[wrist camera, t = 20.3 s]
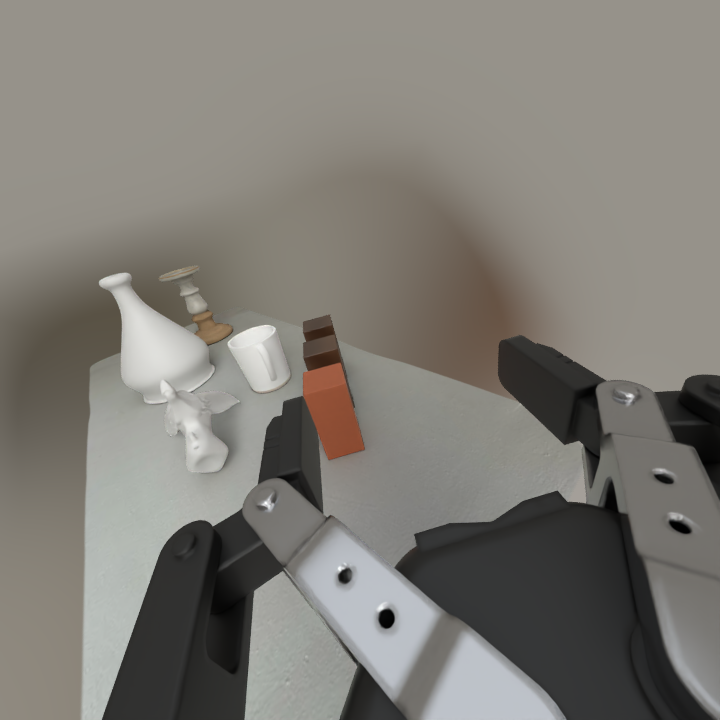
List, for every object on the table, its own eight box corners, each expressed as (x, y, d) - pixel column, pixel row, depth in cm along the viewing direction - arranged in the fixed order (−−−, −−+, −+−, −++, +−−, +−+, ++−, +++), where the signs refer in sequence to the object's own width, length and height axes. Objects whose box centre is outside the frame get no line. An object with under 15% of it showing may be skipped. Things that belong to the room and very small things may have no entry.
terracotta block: (358, 424, 44) (340, 362, 38) (365, 449, 39) (345, 383, 34) (325, 434, 43) (302, 372, 38) (328, 460, 39) (302, 394, 34)
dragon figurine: (112, 462, 29) (103, 373, 37) (192, 510, 43) (173, 438, 50) (231, 406, 33) (201, 336, 41) (269, 466, 47) (242, 405, 54)
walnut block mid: (350, 390, 51) (334, 334, 46) (354, 407, 47) (337, 348, 42) (322, 398, 51) (303, 342, 46) (324, 416, 47) (303, 357, 41)
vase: (152, 417, 58) (60, 295, 45) (130, 393, 69) (52, 290, 57) (231, 370, 68) (174, 260, 55) (201, 356, 79) (148, 261, 67)
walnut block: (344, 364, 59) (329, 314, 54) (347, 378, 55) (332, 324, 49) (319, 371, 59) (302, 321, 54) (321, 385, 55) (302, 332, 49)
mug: (245, 382, 62) (223, 339, 56) (284, 363, 65) (267, 321, 60) (259, 406, 53) (235, 358, 48) (304, 383, 56) (285, 336, 51)
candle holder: (192, 338, 93) (157, 275, 83) (231, 324, 97) (202, 262, 87) (191, 351, 83) (151, 282, 73) (235, 335, 87) (202, 267, 77)
